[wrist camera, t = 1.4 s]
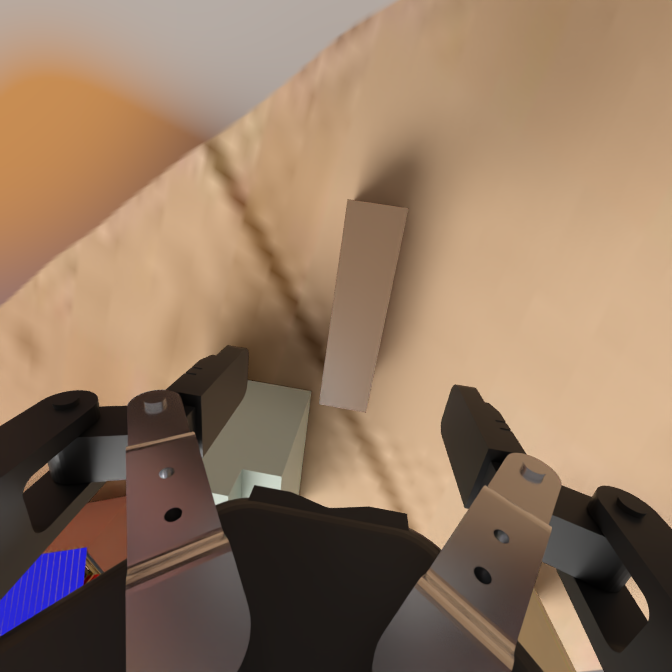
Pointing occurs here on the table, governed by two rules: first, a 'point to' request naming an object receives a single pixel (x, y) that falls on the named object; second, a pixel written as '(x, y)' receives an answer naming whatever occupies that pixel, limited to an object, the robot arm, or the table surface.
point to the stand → (260, 443)
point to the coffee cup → (543, 639)
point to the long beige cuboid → (361, 301)
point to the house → (69, 561)
